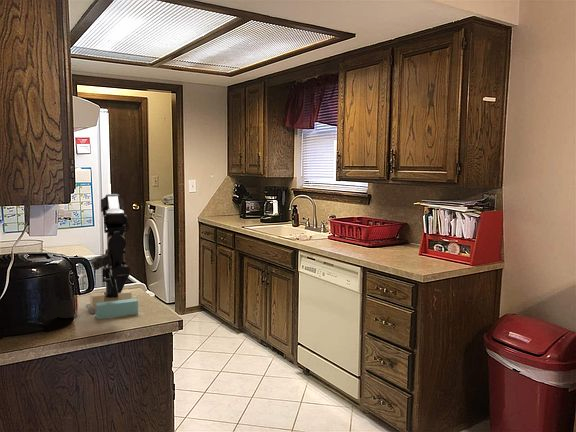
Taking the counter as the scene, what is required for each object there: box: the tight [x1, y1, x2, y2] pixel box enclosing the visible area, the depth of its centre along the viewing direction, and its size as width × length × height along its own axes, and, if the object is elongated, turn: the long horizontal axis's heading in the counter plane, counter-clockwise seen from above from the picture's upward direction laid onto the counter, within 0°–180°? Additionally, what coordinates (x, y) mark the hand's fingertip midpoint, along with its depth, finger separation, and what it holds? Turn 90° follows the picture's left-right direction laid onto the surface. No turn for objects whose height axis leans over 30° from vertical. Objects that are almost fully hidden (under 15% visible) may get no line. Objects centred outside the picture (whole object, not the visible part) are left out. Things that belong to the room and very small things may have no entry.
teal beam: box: [95, 297, 139, 320], centre depth 176 cm, size 4×14×5 cm, turn 120°
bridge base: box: [86, 288, 132, 315], centre depth 185 cm, size 12×16×6 cm
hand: (116, 289), depth 175 cm, fingers open, 9 cm apart
